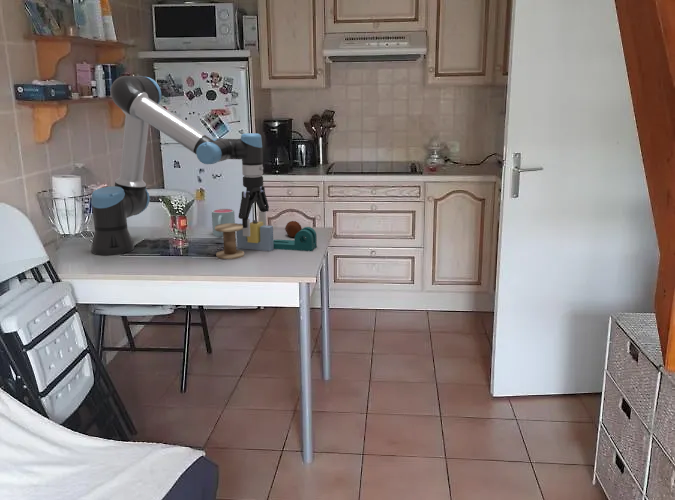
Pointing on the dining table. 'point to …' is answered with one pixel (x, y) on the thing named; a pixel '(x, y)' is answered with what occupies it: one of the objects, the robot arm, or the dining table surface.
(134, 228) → the dining table surface
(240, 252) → the bobbin
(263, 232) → the notch board
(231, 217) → the mug
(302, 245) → the bracket
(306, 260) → the dining table surface
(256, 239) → the yellow block
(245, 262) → the dining table surface
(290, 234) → the potato
